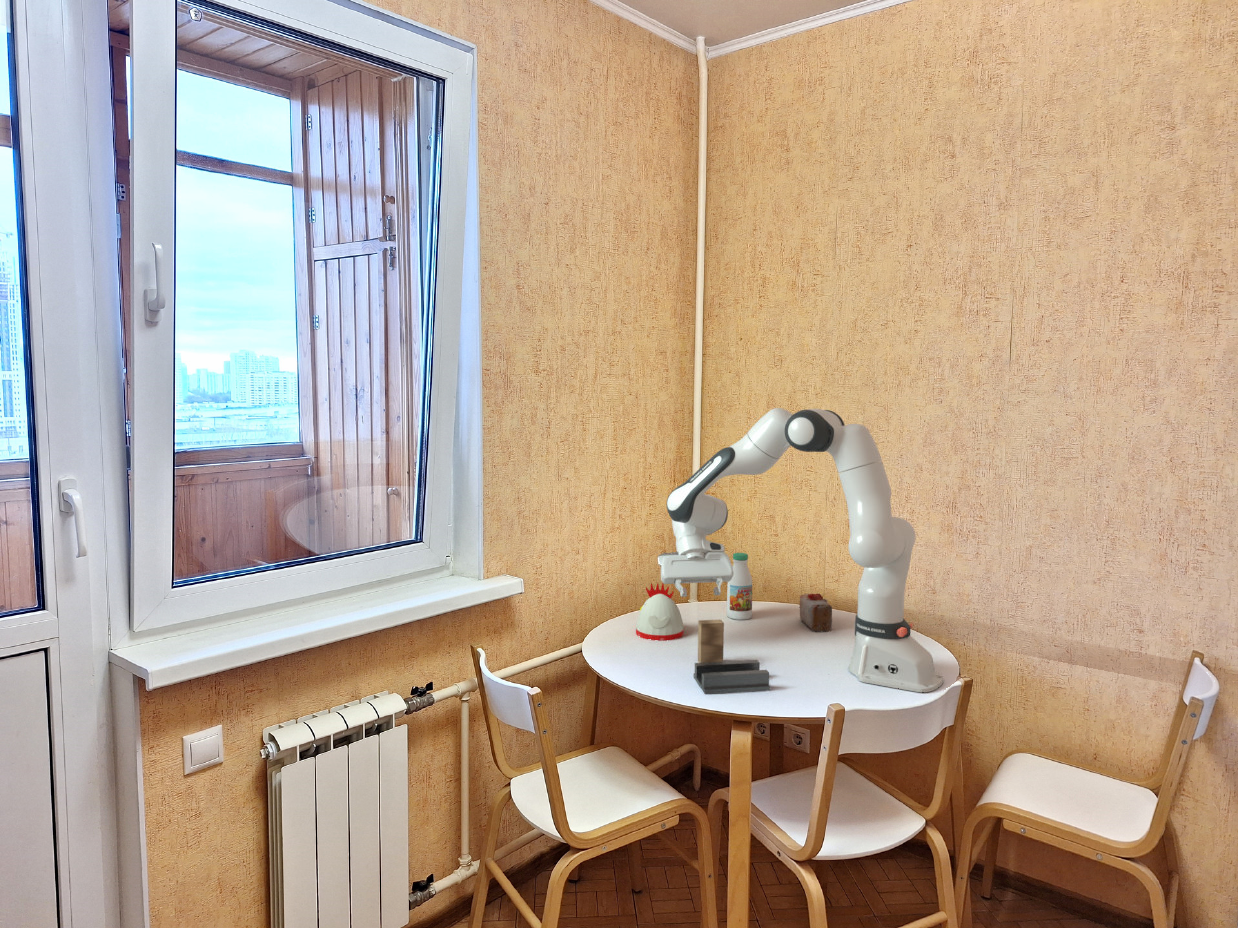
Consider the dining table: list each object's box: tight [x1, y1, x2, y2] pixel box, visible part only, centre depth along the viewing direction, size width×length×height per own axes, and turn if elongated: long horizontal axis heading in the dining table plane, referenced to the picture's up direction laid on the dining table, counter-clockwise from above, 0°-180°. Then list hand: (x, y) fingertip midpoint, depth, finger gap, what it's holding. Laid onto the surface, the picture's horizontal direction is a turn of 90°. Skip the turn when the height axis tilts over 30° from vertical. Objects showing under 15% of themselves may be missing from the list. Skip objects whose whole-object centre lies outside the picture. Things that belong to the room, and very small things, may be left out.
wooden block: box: [697, 619, 725, 663], centre depth 209 cm, size 6×3×11 cm, turn 99°
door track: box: [693, 659, 771, 695], centre depth 195 cm, size 16×11×4 cm
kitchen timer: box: [635, 582, 685, 642], centre depth 234 cm, size 14×14×15 cm
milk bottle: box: [726, 552, 753, 621], centre depth 250 cm, size 8×8×20 cm
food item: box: [798, 593, 833, 633], centre depth 242 cm, size 14×8×10 cm, turn 5°
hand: (701, 594), depth 219 cm, fingers open, 8 cm apart
